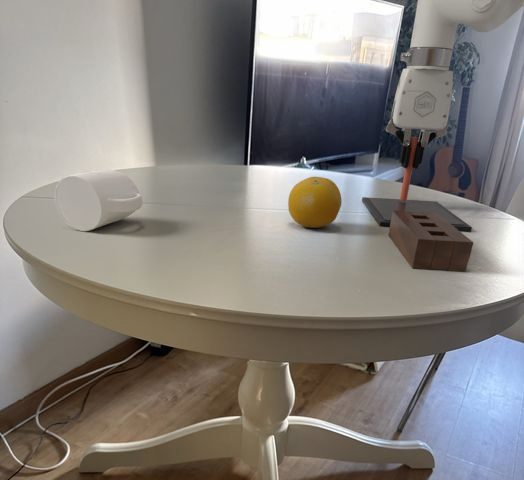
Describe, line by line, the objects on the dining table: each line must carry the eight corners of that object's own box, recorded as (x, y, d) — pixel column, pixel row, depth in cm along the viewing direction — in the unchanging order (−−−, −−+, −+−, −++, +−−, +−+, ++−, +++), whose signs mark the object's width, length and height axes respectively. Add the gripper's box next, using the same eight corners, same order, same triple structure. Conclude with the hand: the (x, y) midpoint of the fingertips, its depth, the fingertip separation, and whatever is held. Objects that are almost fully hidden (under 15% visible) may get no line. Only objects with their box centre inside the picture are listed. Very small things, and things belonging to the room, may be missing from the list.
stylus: (405, 199, 100) (417, 137, 95) (407, 200, 99) (419, 137, 93) (399, 199, 100) (410, 136, 95) (400, 200, 99) (412, 137, 93)
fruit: (287, 231, 78) (291, 180, 74) (285, 219, 85) (289, 172, 81) (341, 234, 78) (348, 183, 74) (335, 222, 85) (340, 174, 81)
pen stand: (431, 237, 79) (437, 213, 77) (465, 271, 64) (473, 242, 62) (388, 235, 79) (392, 210, 77) (412, 268, 64) (418, 239, 62)
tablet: (436, 205, 103) (436, 201, 103) (471, 231, 84) (472, 226, 83) (361, 200, 103) (362, 196, 103) (379, 226, 84) (380, 221, 83)
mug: (54, 227, 73) (45, 172, 69) (90, 214, 81) (84, 164, 77) (124, 237, 70) (118, 180, 66) (154, 223, 78) (151, 171, 74)
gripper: (390, 57, 85) (373, 167, 93) (478, 62, 85) (453, 172, 93) (382, 60, 91) (367, 162, 100) (464, 64, 91) (442, 167, 100)
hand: (409, 166), depth 97 cm, fingers closed on stylus, 1 cm apart
